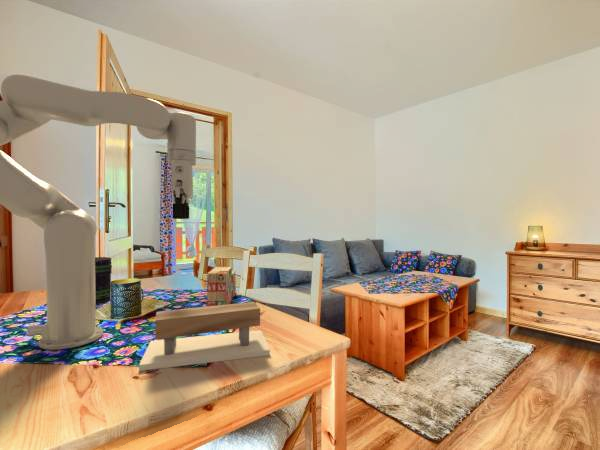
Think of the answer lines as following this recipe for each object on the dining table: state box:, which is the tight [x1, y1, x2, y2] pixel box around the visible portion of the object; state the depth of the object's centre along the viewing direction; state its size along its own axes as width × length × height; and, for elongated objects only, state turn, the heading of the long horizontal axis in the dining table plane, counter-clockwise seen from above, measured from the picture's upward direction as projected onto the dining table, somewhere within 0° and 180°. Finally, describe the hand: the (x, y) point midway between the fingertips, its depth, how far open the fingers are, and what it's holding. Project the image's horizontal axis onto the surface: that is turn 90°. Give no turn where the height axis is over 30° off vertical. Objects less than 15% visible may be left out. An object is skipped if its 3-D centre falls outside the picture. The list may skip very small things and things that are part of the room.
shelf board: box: [154, 301, 261, 341], centre depth 69 cm, size 6×22×4 cm, turn 113°
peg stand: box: [138, 327, 271, 372], centre depth 69 cm, size 26×12×5 cm, turn 106°
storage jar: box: [95, 256, 113, 304], centre depth 109 cm, size 10×10×15 cm
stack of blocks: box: [206, 266, 237, 307], centre depth 110 cm, size 21×6×12 cm, turn 3°
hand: (181, 218), depth 87 cm, fingers open, 9 cm apart
